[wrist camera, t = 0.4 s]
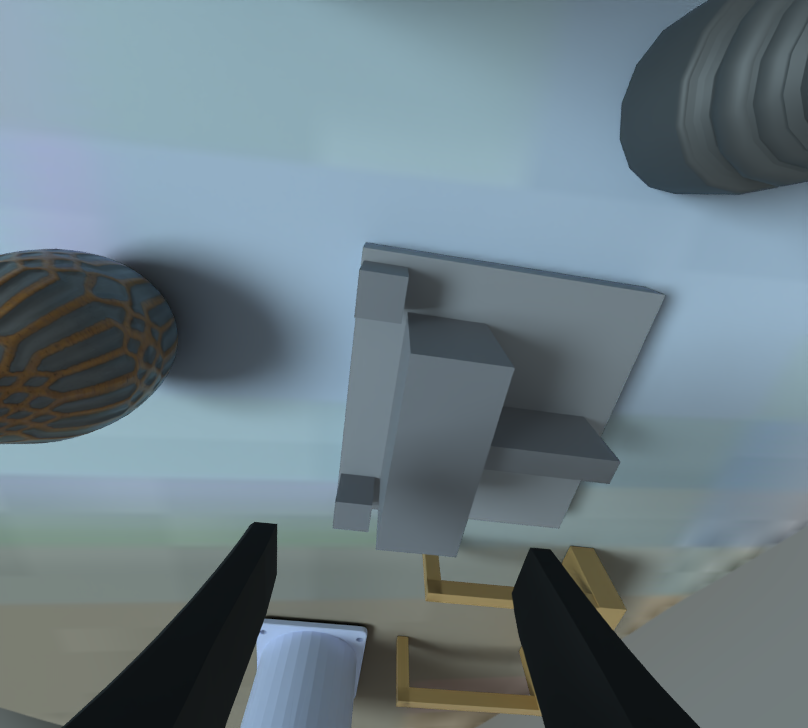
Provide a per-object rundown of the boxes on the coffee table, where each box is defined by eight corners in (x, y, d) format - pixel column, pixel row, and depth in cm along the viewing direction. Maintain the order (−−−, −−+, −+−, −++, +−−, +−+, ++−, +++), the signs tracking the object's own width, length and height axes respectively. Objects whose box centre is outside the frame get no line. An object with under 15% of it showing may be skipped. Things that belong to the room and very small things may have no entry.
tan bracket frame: (593, 548, 25) (626, 610, 21) (538, 652, 30) (557, 717, 26) (423, 531, 24) (428, 592, 20) (396, 641, 29) (396, 706, 25)
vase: (33, 223, 16) (-330, 256, 8) (200, 256, 17) (19, 318, 9) (61, 366, 19) (-187, 496, 11) (203, 390, 19) (67, 529, 12)
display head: (644, 286, 17) (756, 331, 12) (549, 508, 23) (595, 606, 18) (365, 242, 16) (349, 268, 11) (339, 485, 22) (320, 581, 17)
